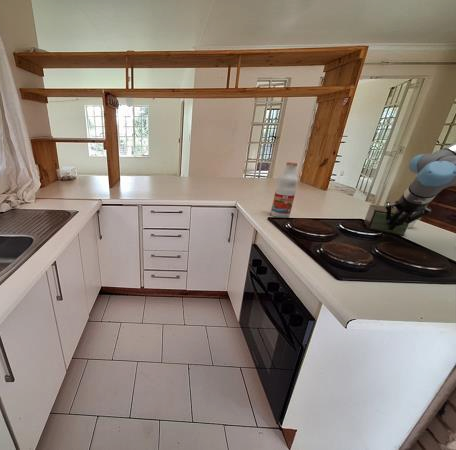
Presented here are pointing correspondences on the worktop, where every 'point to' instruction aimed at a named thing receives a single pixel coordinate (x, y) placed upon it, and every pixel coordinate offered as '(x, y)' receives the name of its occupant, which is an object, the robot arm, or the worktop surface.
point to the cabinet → (371, 214)
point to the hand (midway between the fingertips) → (390, 227)
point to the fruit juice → (285, 192)
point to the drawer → (386, 224)
